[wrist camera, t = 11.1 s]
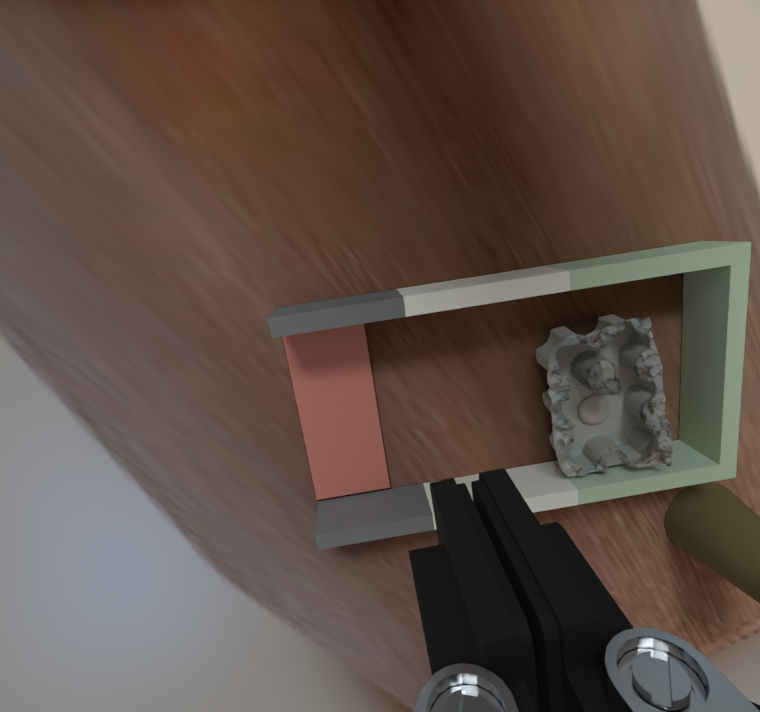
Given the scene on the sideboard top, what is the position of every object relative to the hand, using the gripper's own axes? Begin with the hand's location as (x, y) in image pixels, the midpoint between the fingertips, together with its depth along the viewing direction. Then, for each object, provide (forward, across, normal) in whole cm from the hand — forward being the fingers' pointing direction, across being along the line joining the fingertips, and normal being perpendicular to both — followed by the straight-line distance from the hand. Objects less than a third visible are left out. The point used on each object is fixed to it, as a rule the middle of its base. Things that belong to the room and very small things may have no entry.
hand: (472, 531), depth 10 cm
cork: (+22, -22, +21) cm, 37 cm away
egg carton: (+23, -16, +6) cm, 28 cm away
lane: (+22, -7, +6) cm, 24 cm away
